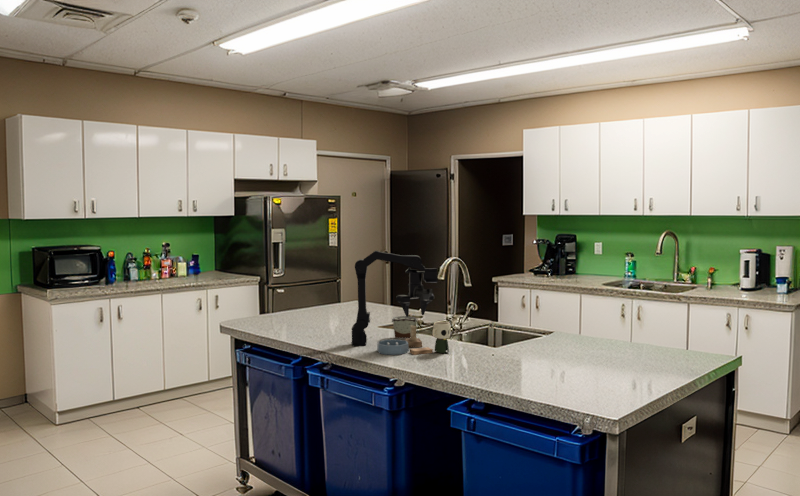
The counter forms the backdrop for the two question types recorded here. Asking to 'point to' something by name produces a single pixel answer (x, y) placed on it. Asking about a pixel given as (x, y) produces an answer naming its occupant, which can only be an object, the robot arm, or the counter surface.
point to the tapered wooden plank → (421, 351)
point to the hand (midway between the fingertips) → (415, 315)
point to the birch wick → (413, 333)
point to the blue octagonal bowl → (392, 347)
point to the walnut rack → (414, 343)
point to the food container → (403, 326)
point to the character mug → (441, 336)
